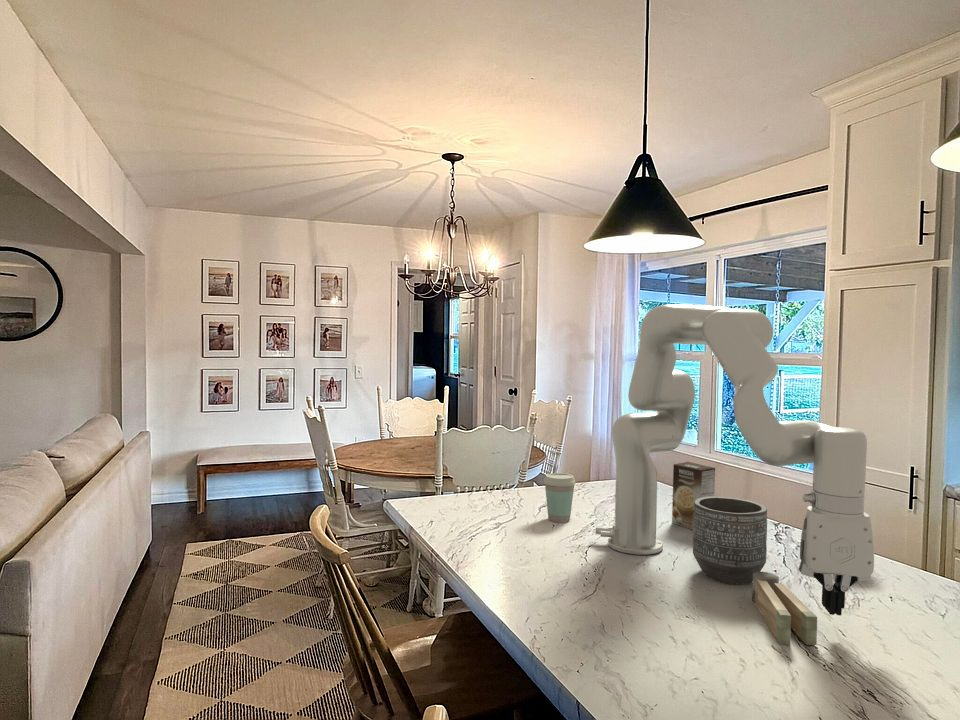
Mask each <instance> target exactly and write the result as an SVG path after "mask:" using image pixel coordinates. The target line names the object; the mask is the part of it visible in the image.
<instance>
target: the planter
mask: <svg viewBox="0 0 960 720" xmlns="http://www.w3.org/2000/svg"><path fill="white" fill-rule="evenodd" d="M692 530H693V537H692V555H693V556H694V559H695V560H696V562H697V564H698V566H699V568H700V570H701V572H702V573H703V574H704V576H705V577H706V578H709V579H711V580H712V581H715V582H719V583H723V584H728V585H748V584H751V583H753V573H755V572H762V570H763V568H764V567H765V565H766V563H767V538H768V508H767V507H766V506H765V505H764V504H762V503H761V502H760V503H759V502H756V501H754V500H750V499H745V498H744V499H743V498H740V497H730V496H719V495H718V496H717V495H714V496H708V497H701V498H698V499H696V500H695V501H694V524H693V529H692Z"/></svg>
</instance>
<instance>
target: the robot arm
mask: <svg viewBox="0 0 960 720" xmlns="http://www.w3.org/2000/svg"><path fill="white" fill-rule="evenodd" d="M639 331H640V333H639V346H638V351H637V355H636V359H635V363H634V367H633V371H632V376H631V380H630V384H629V387H628V394H627V396H628V402H629V403H630V406H632V407H633V408H634V409H635V410H639V411H642V412H632V413H626V414H623V415H621V416H619V417H618V418H617V419H616V420H615V421H614V423H613V425H612V427H611V439H612V444H613V451H614V458H615V459H614V460H615V492H614V493H615V496H614V497H615V499H614V501H615V502H614V503H615V504H614V505H615V506H614V507H615V508H614V522H613V523H612V524H613V525H608V526H607V527H606V526H605V527H604V526H597V525H595V535H597V536H598V535H599V536H600V537H602V538H608V539H607V545H608V546H609V547H610V548H611V549H612V550H614V551H617V552H620V553H625V554H630V555H641V556H643V555H654V554H658V553H660V552H661V551H663V549H664V548H663V547H664V544H663V542H662V541H661V540H660V539H658V538H657V509H658V507H657V506H658V505H657V502H658V472H657V468H656V465H655V463H654V461H653V459H652V457H651V454H653V453H661V452H669V451H673V450H676V449H678V447H679V446H680V445H681V444H682V442H683V439H684V437H685V434H686V431H687V427H688V426H689V425H688V424H689V421H690V417H691V413H692V410H693V407H694V402H695V398H696V389H695V388H696V387H695V384H694V381H693V378H692V377H691V376H690V375H689V374H688V373H687V372H685V371H683V370H680V369H674V368H675V366H676V363H677V350H676V347H675V345H707V346H708V348H709V349H710V350H711V352H712V353H713V355H714V358H716V360H717V361H718V363H719V365H720V366H721V369H723V371H724V373H725V374H726V376H727V378H728V379H729V381H730V383H731V384H732V386H733V388H734V394H733V400H732V402H733V403H732V404H733V415H734V420H735V424H736V427H737V428H738V430H739V432H740V433H741V434H742V437H743V439H744V440H745V442H746V443H747V445H748V446H749V448H750V449H751V451H752V452H753V454H754V455H756V457H757V458H758V459H760V460H761V462H763V463H765V464H767V465H769V466H774V467H783V466H784V467H785V466H792V465H804V464H805V465H807V464H813V465H812V466H813V469H812V473H813V474H812V488H811V489H810V492H808V493H803V494H802V501H803V502H804V503H808V504H810V505H811V506H810V505H809V506H807V507H806V512H805V515H804V519H803V525H802V529H801V536H800V542H799V543H800V544H799V559H800V563H799V566H798V571H799V572H800V574H801V575H804V576H806V577H809V578H814V579H816V580H817V582H819V584H821V586H822V589H821V605H822V606H823V607H824V609H825V610H826V612H828V613H829V615H832V616H835V615H837V616H840V617H841V616H842V612H843V609H845V607H846V605H845V604H846V592H849V589H850V588H851V586H853V585H854V584H856V583H857V582H864V581H869V580H871V579H872V576H871V575H872V574H873V573H874V568H875V549H874V548H875V547H874V536H873V535H874V534H873V526H872V522H871V517H870V513H867V512H865V492H866V472H867V451H868V450H867V449H868V439H867V435H866V434H865V432H862V431H861V430H858V429H856V428H849V427H843V426H842V427H841V426H833V425H828V424H825V423H822V422H819V421H814V420H806V419H805V420H803V419H802V420H785V421H779V420H778V418H777V417H776V415H775V414H774V413H773V411H772V409H771V408H770V406H769V404H768V403H767V401H766V398H765V394H764V388H765V387H766V386H767V385H768V384H770V383H771V382H772V381H773V380H775V378H776V376H777V374H778V370H779V368H778V365H777V363H776V362H775V360H774V358H773V357H772V356H771V354H770V352H769V351H768V350H767V347H768V346H769V345H770V344H771V342H772V339H773V337H774V328H773V325H772V323H771V320H770V319H769V318H768V316H766V314H764V313H762V312H761V311H759V310H755V309H743V308H742V309H741V308H733V307H732V308H731V307H723V306H713V305H696V304H695V305H693V304H683V303H682V304H680V303H676V304H675V303H674V304H673V303H671V304H669V303H668V304H661V305H657V306H654V307H653V308H651V309H650V310H649V311H648V312H647V313H646V314H645V316H644V317H643V320H642V321H641V325H640V330H639ZM643 411H644V412H643ZM832 575H833V576H835V577H834V578H835V579H834V583H833V576H832Z"/></svg>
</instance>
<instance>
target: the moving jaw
mask: <svg viewBox="0 0 960 720" xmlns="http://www.w3.org/2000/svg"><path fill="white" fill-rule="evenodd" d="M774 592H775V594H776V595H777V597H778V598H779V599H780V601H781V602H782V604H783V605H784V606H785V608H786V609H787V611H788V612H789V613H790V615H791V630H792V631H793V632H794V633H795V634H796V635H797V636H798V637H799V638H800V640H802V641H803V643H804V644H805V645H808V646H809V645H810V646H817V643H818V642H817V641H818V640H817V636H818V635H817V634H818V616H817V615H816V614H815V613H813V611H812V610H811V609H809V607H808V606H807V605H805V604H804V602H803V601H801V599H799V598H798V597H797V595H795V593H793V592H792V591H791V589H789V587H788V586H786V585H785V584H784V583H774Z"/></svg>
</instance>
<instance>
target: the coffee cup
mask: <svg viewBox="0 0 960 720" xmlns="http://www.w3.org/2000/svg"><path fill="white" fill-rule="evenodd" d="M543 480H544V481H543V483H544V487H545V498H546V509H547V518H548V520H549V521H550V522H552V523H562V524H563V523H567V522H569V521H570V520H571V514H572V506H573V498H574V490H575V485H576V480H575V477H574V475H572V474H570V473H564V472H552V473H547V474H546V475H545V478H544V479H543Z"/></svg>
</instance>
